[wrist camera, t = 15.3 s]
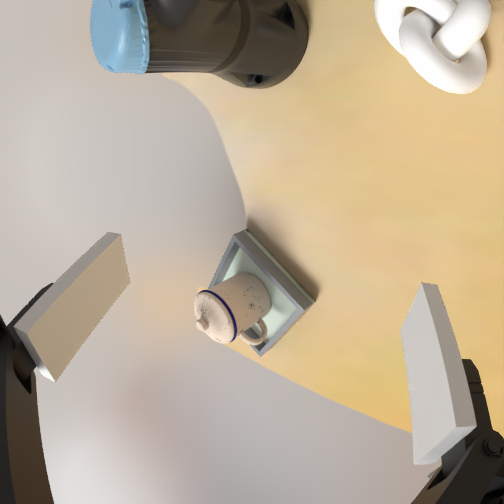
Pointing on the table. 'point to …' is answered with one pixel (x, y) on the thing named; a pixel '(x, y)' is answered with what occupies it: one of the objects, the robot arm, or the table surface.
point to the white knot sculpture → (439, 39)
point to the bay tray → (275, 281)
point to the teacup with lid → (233, 309)
